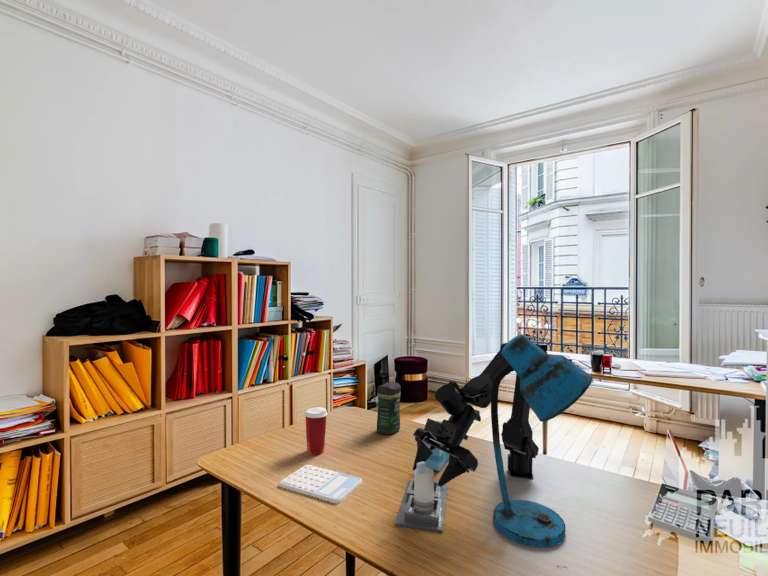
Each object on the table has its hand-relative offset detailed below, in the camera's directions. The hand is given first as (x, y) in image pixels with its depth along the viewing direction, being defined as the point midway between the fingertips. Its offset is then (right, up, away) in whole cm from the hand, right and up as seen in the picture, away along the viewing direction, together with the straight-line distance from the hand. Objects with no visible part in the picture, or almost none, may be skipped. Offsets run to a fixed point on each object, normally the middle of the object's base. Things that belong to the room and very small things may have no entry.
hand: (426, 477), depth 97 cm
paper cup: (-34, -9, +36) cm, 50 cm away
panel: (0, -9, +4) cm, 10 cm away
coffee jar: (-9, -9, +56) cm, 57 cm away
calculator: (-28, -9, +14) cm, 33 cm away
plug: (-1, -8, 0) cm, 8 cm away
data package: (+7, -9, +28) cm, 30 cm away
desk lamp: (+26, -9, -5) cm, 28 cm away
